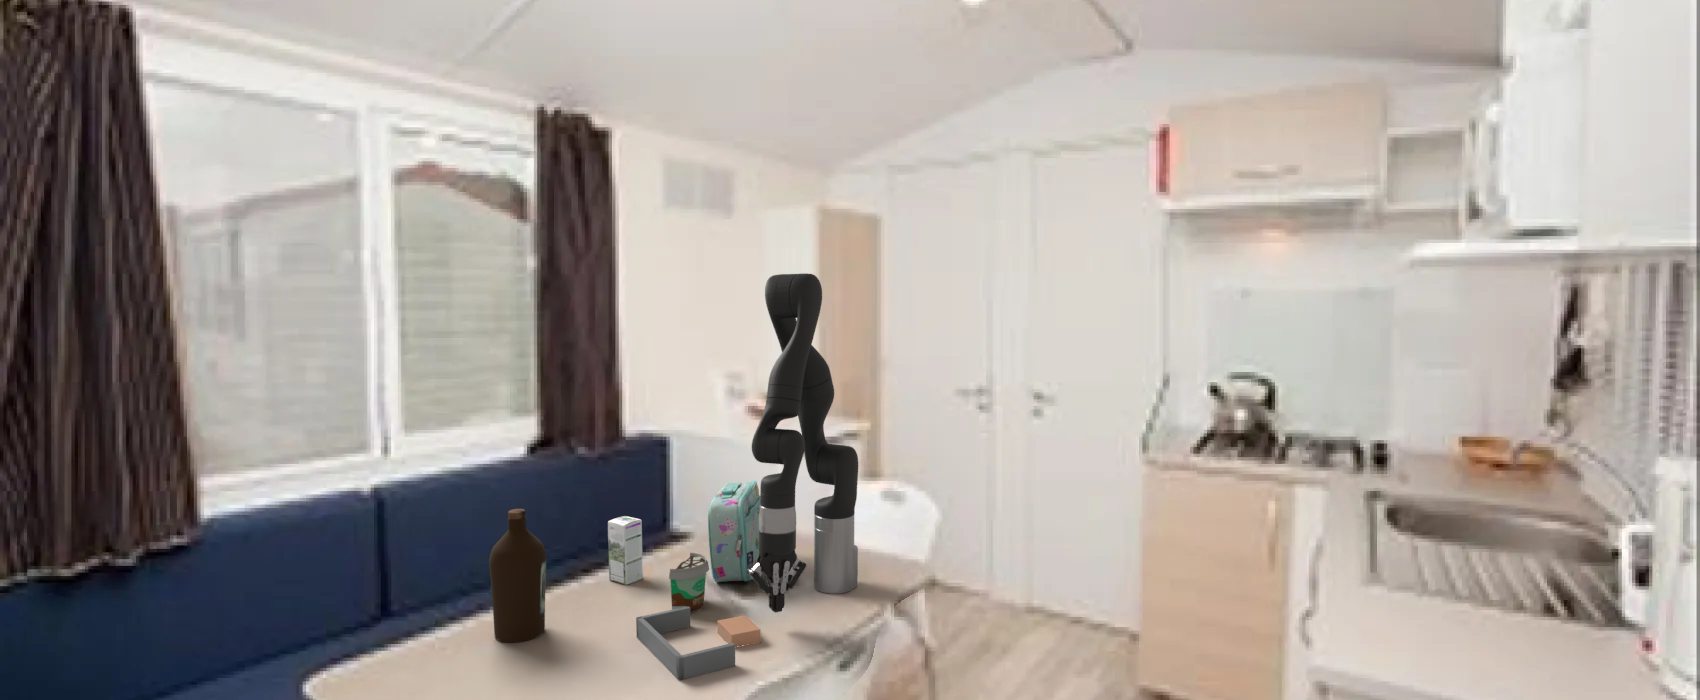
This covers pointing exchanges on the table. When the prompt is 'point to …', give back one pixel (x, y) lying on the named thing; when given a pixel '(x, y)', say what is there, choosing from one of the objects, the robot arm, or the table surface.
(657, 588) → the table surface
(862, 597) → the table surface
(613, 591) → the table surface
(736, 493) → the lunch box
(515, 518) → the olive oil
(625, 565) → the syrup box
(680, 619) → the box
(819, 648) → the table surface
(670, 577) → the food container
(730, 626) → the tile
